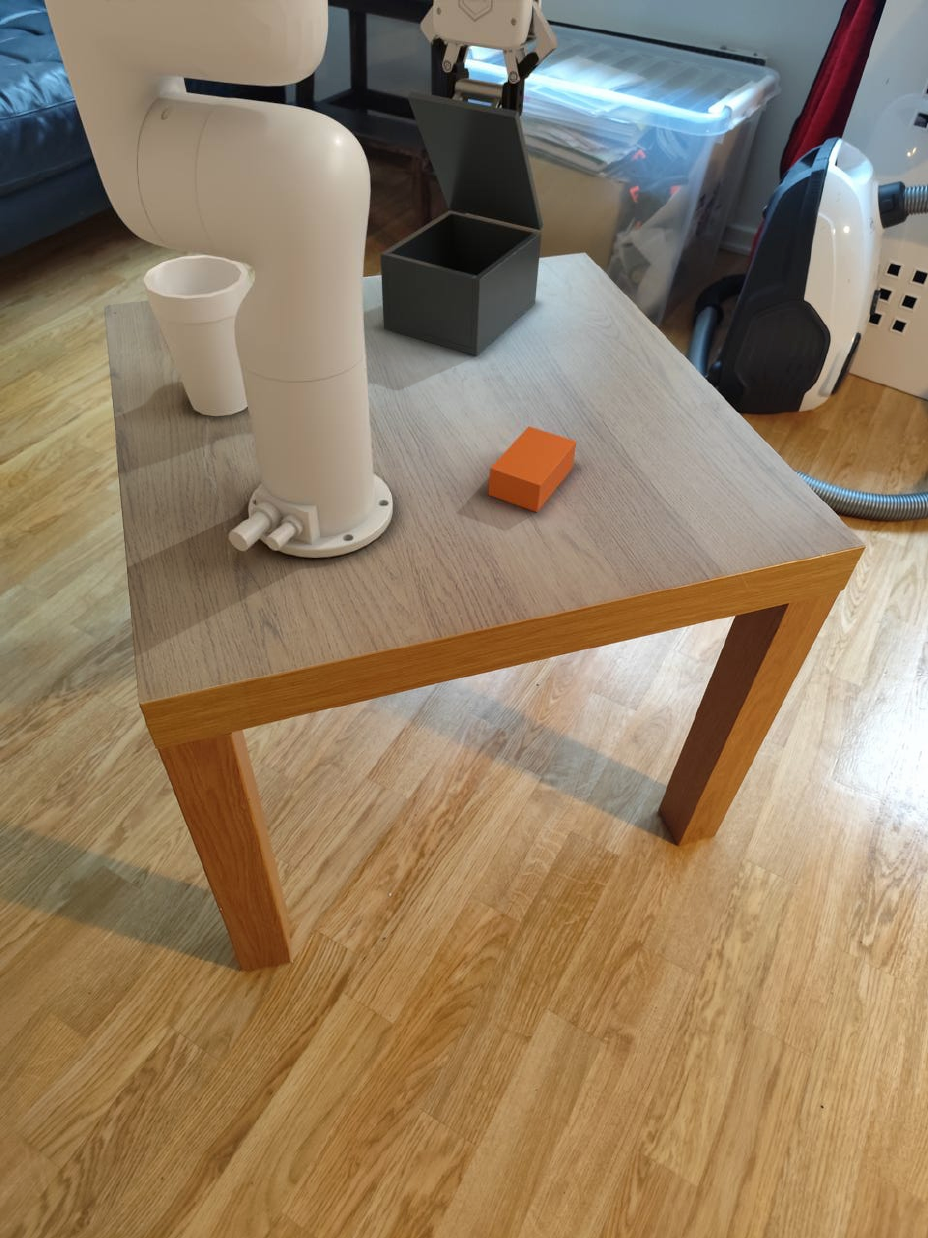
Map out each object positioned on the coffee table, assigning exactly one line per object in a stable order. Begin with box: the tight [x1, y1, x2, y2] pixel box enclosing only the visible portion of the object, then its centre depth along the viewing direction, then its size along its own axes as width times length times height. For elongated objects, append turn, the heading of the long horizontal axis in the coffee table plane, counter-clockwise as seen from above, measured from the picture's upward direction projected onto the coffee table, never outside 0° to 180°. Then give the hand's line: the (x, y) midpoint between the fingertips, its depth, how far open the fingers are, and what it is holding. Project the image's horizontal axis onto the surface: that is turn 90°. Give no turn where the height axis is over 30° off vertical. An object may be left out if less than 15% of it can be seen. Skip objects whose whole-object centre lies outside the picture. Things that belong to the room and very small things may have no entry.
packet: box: [488, 425, 577, 513], centre depth 76 cm, size 8×5×3 cm, turn 151°
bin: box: [380, 210, 543, 357], centre depth 97 cm, size 16×13×9 cm
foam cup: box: [142, 254, 252, 417], centre depth 81 cm, size 10×9×13 cm
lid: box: [407, 77, 544, 231], centre depth 91 cm, size 16×13×5 cm
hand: (483, 116), depth 88 cm, fingers closed on lid, 5 cm apart
